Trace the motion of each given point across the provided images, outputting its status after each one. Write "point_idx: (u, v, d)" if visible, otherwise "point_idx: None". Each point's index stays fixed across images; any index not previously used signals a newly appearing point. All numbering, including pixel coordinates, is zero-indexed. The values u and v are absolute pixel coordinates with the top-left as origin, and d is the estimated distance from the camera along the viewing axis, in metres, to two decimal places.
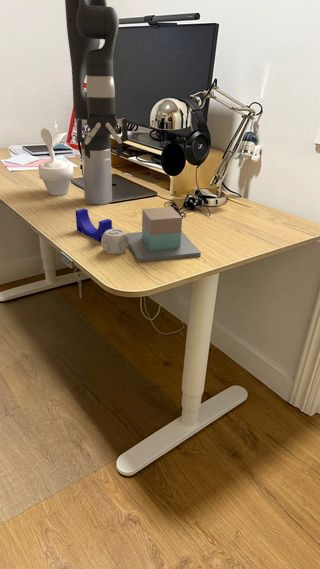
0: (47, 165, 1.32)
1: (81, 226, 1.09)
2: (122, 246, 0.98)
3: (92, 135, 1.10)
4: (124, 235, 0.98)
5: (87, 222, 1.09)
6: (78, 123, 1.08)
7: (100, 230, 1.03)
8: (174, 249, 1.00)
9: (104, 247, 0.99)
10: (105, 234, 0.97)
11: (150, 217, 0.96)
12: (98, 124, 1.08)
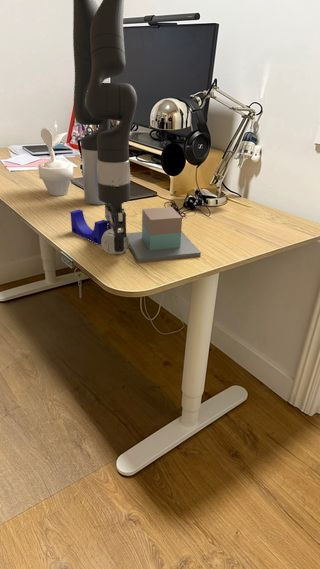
0: (47, 165, 1.32)
1: (76, 227, 1.08)
2: None
3: None
4: None
5: (82, 223, 1.08)
6: (125, 217, 0.90)
7: (96, 231, 1.02)
8: (174, 249, 1.00)
9: (104, 247, 0.99)
10: (105, 234, 0.97)
11: (150, 217, 0.96)
12: None
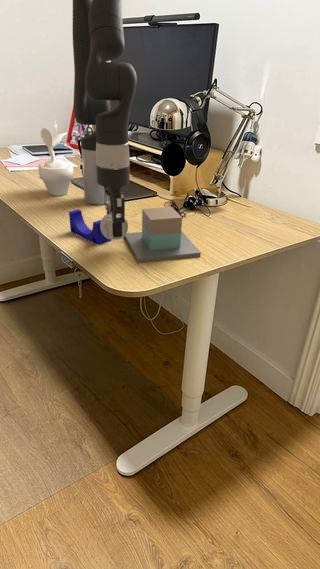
0: (47, 165, 1.32)
1: (75, 227, 1.08)
2: None
3: None
4: None
5: (81, 223, 1.08)
6: None
7: (94, 231, 1.02)
8: (174, 249, 1.00)
9: (103, 232, 0.97)
10: (104, 219, 0.96)
11: (150, 217, 0.96)
12: None
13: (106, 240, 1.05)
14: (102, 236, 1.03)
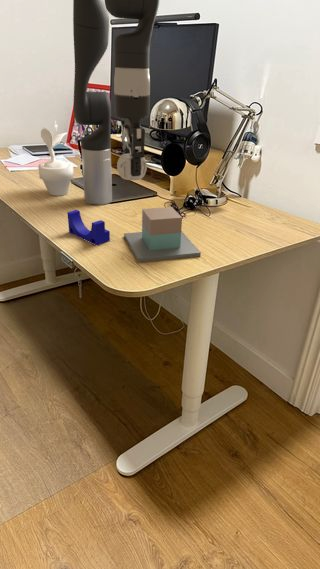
0: (47, 165, 1.32)
1: (73, 228, 1.07)
2: None
3: None
4: (142, 158, 0.90)
5: (79, 223, 1.08)
6: None
7: (93, 231, 1.02)
8: (174, 249, 1.00)
9: (120, 172, 0.91)
10: (121, 157, 0.89)
11: (150, 217, 0.96)
12: None
13: (105, 241, 1.04)
14: (101, 237, 1.03)
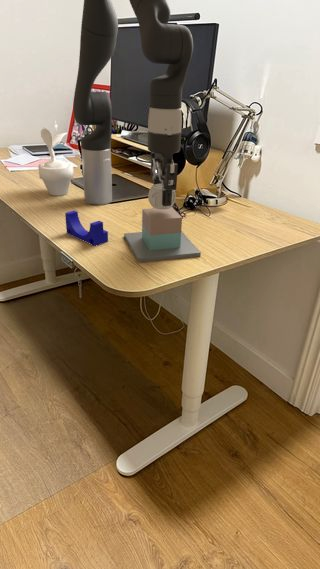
0: (47, 165, 1.32)
1: (71, 228, 1.07)
2: None
3: None
4: None
5: (77, 224, 1.08)
6: None
7: (92, 232, 1.01)
8: (174, 249, 1.00)
9: (151, 202, 0.97)
10: (153, 188, 0.95)
11: (150, 217, 0.96)
12: None
13: (103, 241, 1.04)
14: (99, 237, 1.03)
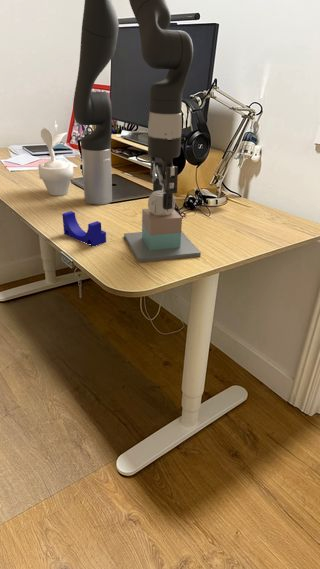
0: (47, 165, 1.32)
1: (69, 229, 1.06)
2: None
3: None
4: None
5: (75, 225, 1.07)
6: None
7: (90, 233, 1.01)
8: (174, 249, 1.00)
9: (151, 209, 0.98)
10: (152, 195, 0.96)
11: (150, 217, 0.96)
12: None
13: (101, 242, 1.04)
14: (97, 238, 1.02)
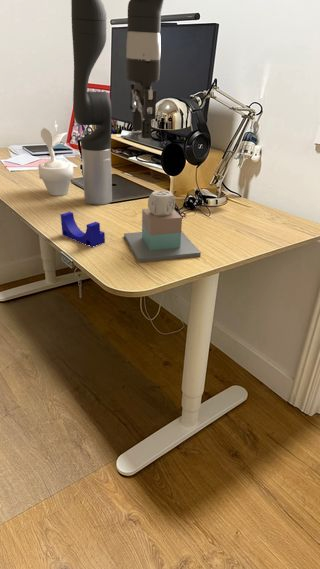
0: (47, 165, 1.32)
1: (67, 230, 1.06)
2: (169, 207, 0.97)
3: None
4: (171, 196, 0.97)
5: (73, 226, 1.07)
6: (155, 95, 0.86)
7: (88, 233, 1.00)
8: (174, 249, 1.00)
9: (151, 209, 0.98)
10: (152, 195, 0.96)
11: (150, 217, 0.96)
12: None
13: (100, 242, 1.03)
14: (96, 238, 1.02)
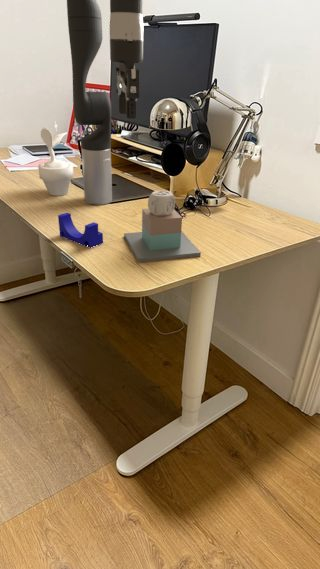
0: (47, 165, 1.32)
1: (65, 231, 1.05)
2: (169, 207, 0.97)
3: None
4: (171, 196, 0.97)
5: (71, 226, 1.06)
6: (138, 74, 0.87)
7: (87, 234, 1.00)
8: (174, 249, 1.00)
9: (151, 209, 0.98)
10: (152, 195, 0.96)
11: (150, 217, 0.96)
12: None
13: (98, 243, 1.03)
14: (94, 239, 1.01)
